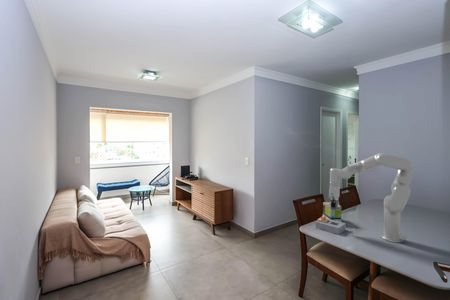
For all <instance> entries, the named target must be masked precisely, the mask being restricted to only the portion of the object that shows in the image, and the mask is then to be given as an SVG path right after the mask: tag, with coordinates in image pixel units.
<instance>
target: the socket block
mask: <svg viewBox="0 0 450 300" xmlns="http://www.w3.org/2000/svg"><path fill="white" fill-rule="evenodd" d="M315 228H316V229H318V228H319V229H318V230H321V229H322V231H325V230H326V232H328V231H329V232H328V233H333V234H335V233H336V234H335V235H340V234H342V233H343V232H344V231H345V230H346V223H345V222H342V221H341V222H338V221H334V220H329V221H328V222H326V223H325V222H322V221H318V220H316V221H315Z"/></svg>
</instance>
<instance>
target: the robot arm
mask: <svg viewBox="0 0 450 300" xmlns="http://www.w3.org/2000/svg"><path fill="white" fill-rule="evenodd" d="M380 166H381V167H382V166H384V167H387V168H391V169H396V170H397V173H396V176H395V179H394V180H393V181H392V184H391V185H390V186H391V187H390V191H391V194H389V195H386V196H385V197H384V199H383V233H382V234H380V237H381V239H383V240H385V241H387V242H391V243H402V242H403V241H406V242H408V240H409V239H408V237H407V236H403V235H402V233H401V212H402V211H403V210H405V206H406V205H407V203H408V200H409V199H410V196H411V193H412V191H411V188H410V187H409V186H410V184H411V182H412V180H413V176H414V171H413V170H414V169H413V167H412V162H411V160H410V159H408V158H407V157H403V156H397V155H393V154H390V153H389V154H388V153H386V152H378V153H376V154H374V155H372V156H369V157H366V158H364V159H362V160H358V161H357V162H355V163H353V164H350V165H348V166H345V167H343V168H342V169H340V168H334V167H331V168H330V170H329V189H328V198H329V199H330V202H331V207H334V208H335V199H336V198H340V195H341V193H340V189H341V188H340V187H341V179H343V180H349V179H350V178H352V176H353V175H355V174H358V173H362V172H368V171H370V170H373V169H375V168H377V167H380ZM333 199H334V200H333Z"/></svg>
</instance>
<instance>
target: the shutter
mask: <svg viewBox="0 0 450 300" xmlns="http://www.w3.org/2000/svg"><path fill="white" fill-rule="evenodd" d="M329 220H330V219H326V216H325V215H324V216H323V215H322V216H321V217H319V218H318V219H317V220H316V221H322V222H325V223H326V222H328V221H329Z"/></svg>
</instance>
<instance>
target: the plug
mask: <svg viewBox="0 0 450 300" xmlns="http://www.w3.org/2000/svg"><path fill="white" fill-rule="evenodd" d="M339 198H340V197H338V198H336V199H335V208H334V207H331V209H333V210H337V209H338V205H339ZM333 200H334V199H333Z"/></svg>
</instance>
